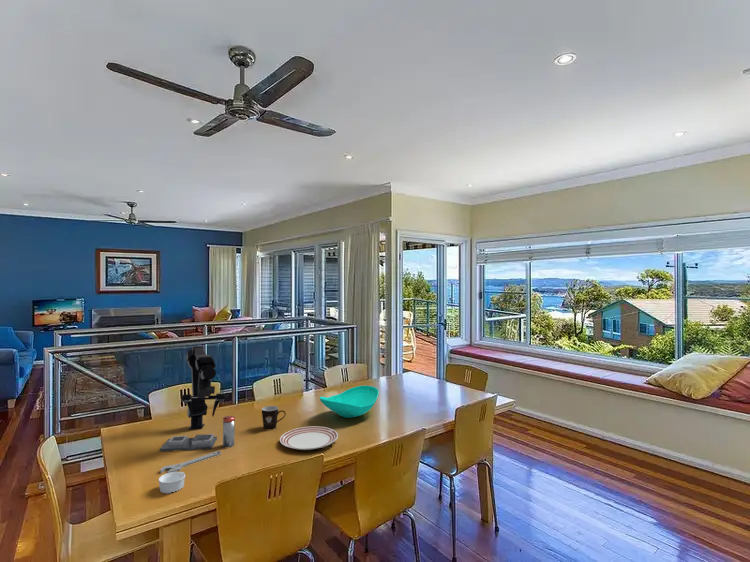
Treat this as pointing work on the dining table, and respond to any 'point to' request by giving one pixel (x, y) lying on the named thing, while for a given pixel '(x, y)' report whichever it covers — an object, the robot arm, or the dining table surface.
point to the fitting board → (189, 442)
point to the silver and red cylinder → (228, 431)
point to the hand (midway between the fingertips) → (202, 416)
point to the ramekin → (171, 482)
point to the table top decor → (352, 401)
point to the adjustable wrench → (188, 463)
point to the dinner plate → (308, 438)
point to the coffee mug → (270, 416)
